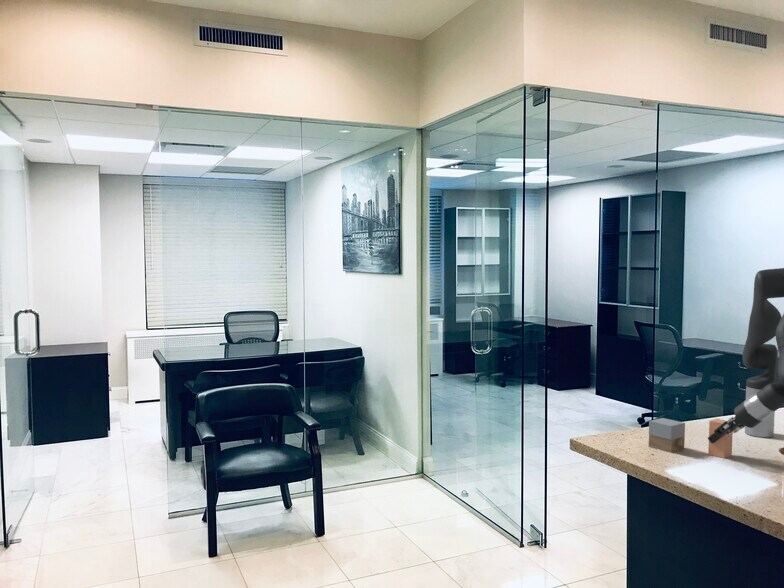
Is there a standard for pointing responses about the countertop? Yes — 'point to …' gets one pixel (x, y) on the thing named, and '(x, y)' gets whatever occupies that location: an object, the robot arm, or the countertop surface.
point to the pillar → (720, 441)
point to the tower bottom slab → (666, 443)
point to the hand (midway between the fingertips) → (714, 439)
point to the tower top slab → (667, 428)
